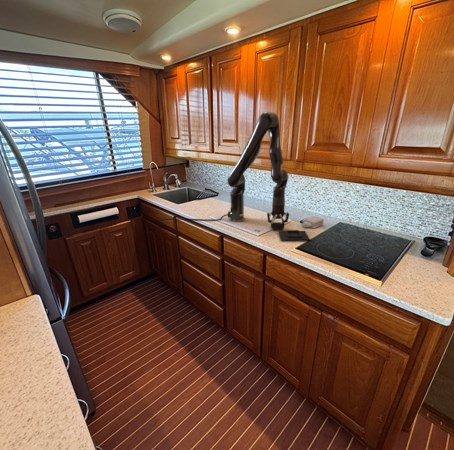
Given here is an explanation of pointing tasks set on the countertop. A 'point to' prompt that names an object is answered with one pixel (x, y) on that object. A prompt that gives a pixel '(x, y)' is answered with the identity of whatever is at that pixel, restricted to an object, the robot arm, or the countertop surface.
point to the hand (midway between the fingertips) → (277, 228)
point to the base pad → (293, 235)
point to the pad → (277, 226)
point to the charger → (312, 222)
